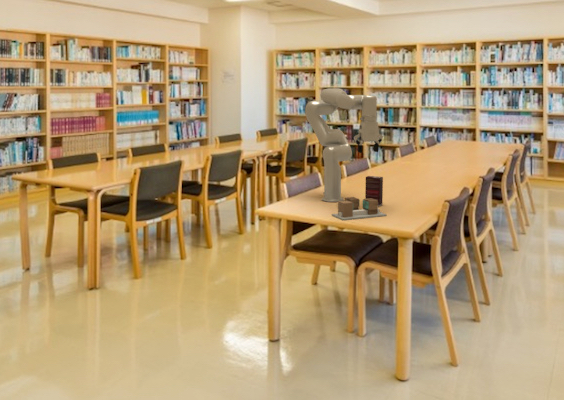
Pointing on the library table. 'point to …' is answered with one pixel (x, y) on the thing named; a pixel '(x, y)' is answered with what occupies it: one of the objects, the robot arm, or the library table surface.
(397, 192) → the library table surface
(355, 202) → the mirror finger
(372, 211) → the block
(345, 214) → the rail board
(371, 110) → the robot arm
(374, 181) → the supplement box
